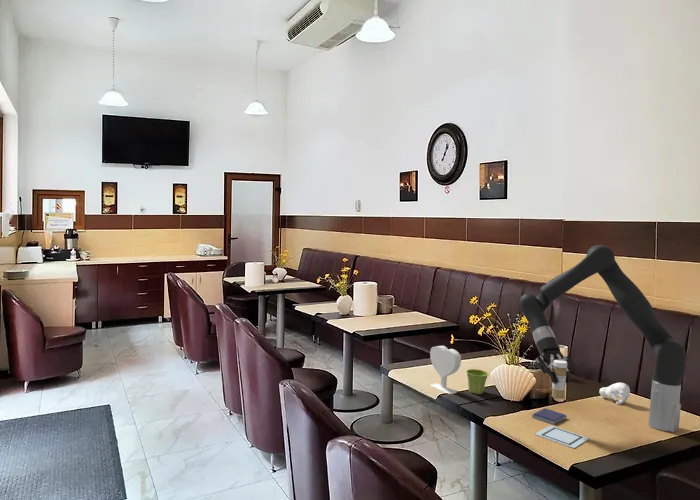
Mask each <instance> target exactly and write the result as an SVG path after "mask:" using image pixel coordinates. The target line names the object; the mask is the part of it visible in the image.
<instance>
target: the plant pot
mask: <svg viewBox="0 0 700 500" xmlns="http://www.w3.org/2000/svg"><path fill="white" fill-rule="evenodd" d="M465 373H466V375H467V382H468V384H467V385H468V392H469V393H470V394H475V395H483V393H484V390H485V387H486V386H485V385H486V381H487V379H488V376H489V372H488V371H486V370H482V369H475V368H469V369H466V370H465Z"/></svg>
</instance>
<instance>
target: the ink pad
mask: <svg viewBox="0 0 700 500" xmlns="http://www.w3.org/2000/svg"><path fill="white" fill-rule="evenodd" d="M531 418H532V419H536V420H538V421H542V422H544V423H547V424H550V425H552V426H556V425H558V424H560V423H561V422H563V421H565V420H567V419H568V415H567V414H565V413H561V412H557V411H554V410H553V409H549V408H545V407H544V408H543V409H540V410H538V411H536V412H534V413H533V414H531Z"/></svg>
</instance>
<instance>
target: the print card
mask: <svg viewBox="0 0 700 500" xmlns="http://www.w3.org/2000/svg"><path fill="white" fill-rule="evenodd" d="M534 435H535V436H538V437H540V438H543V439H545V440H549V441H551V442H553V443H557V444H559V445H562V446H565V447H568V448H571V449H573V450H574V449H577V448H578V447H580V446H581V445H582V444H584V443H586V441H589V440H590V438H589V437H587V436H584V435H581V434H578V433H575V432H572V431H569V430H566V429H563V428H560V427H557V426H556V425H553V424H550V425H548V426H546V427H545V428H543V429H541V430H539V431H537V432H535V433H534Z"/></svg>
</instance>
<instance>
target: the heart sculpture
mask: <svg viewBox="0 0 700 500" xmlns="http://www.w3.org/2000/svg"><path fill="white" fill-rule="evenodd" d="M429 355H430V362H431V365H432V366H433V368H434V370H435V372H436V373H437V374H438V375H439V377H440V383H432V384H430V387H432V388H435V389H437V390H439V391H441V392H444V393H447V394H449V395H450V394H456V393H458V391H456V390H454V389H451V388H450V387H447V385H448V384H447V383H448V382H447V380H448V377H449V376H451V375H454V374H455V373H456V372H458V371H459V369H460V367H461V363H462V355H461V354H460V352H458V350H456V349H453V348H449V349H448V347H446V346H445V345H437V346H432V347H431V348H430V352H429Z"/></svg>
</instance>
